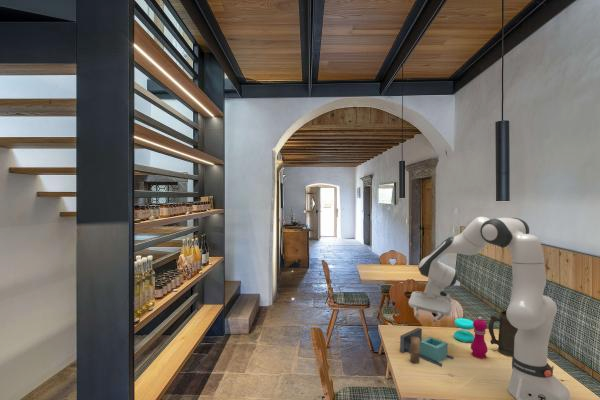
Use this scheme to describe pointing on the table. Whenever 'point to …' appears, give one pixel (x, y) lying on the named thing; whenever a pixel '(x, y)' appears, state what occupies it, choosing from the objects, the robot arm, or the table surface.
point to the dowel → (415, 350)
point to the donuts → (464, 335)
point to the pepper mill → (479, 339)
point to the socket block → (433, 349)
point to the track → (406, 344)
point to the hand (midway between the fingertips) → (425, 318)
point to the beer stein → (503, 334)
